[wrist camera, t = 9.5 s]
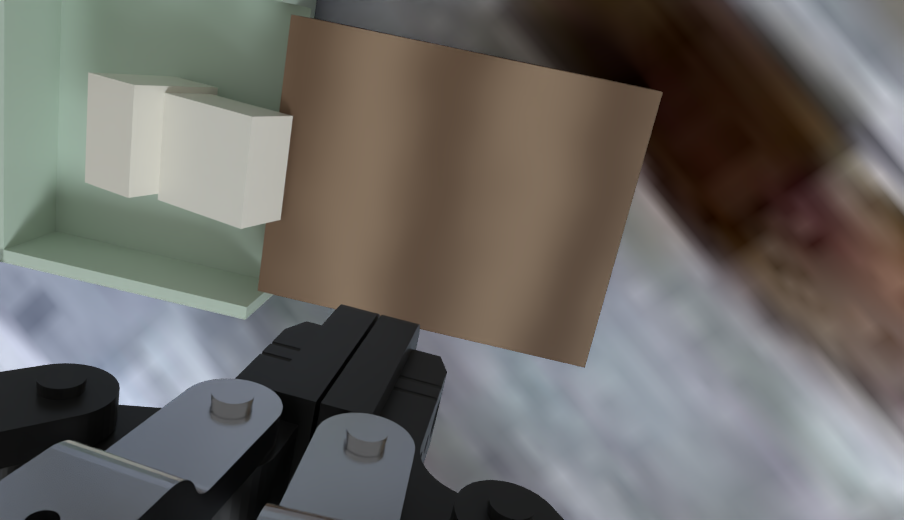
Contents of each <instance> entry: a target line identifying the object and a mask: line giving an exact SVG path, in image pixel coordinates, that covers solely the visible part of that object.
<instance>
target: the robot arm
mask: <svg viewBox="0 0 904 520" xmlns="http://www.w3.org/2000/svg"><path fill="white" fill-rule="evenodd" d="M419 332H420V324H416V323H413V322H409V321H405V320H401V319H397V318H393V317H390V316H386V315H381V316H380V314H378V313H374V312H370V311H366V310H362V309H358V308H355V307H351V306H347V305H343V304H341V305H340V306H339V307H338V308H337V309H336V310H335V311H334V312H333V313H332V315H331V316H330V317H329V318H328V319H327V320H326V321H325V322H324V324H323V325H318V324H314V323H310V322H307V321H306V322H304V323H301V324H298V325H295V326H292V327H290V328H287V329H285V330H284V331H283V332H282V333H281V334H280V335H279V336H278V337H277V338H276V339H275V340H274V341H273V342H272V344H270V345H268V346H267V347H266V348H265V349H264V350H263V352H262V354H259V355H258V356H257V357H256V358H255V359H254V360H253V361H252V362H251V363H250V364H249V365H248V366H247V367H246V368H245V369H244V370H243V371H242V372H241V373H240V374H239V375H238V376H237V377H236V378H235V379H213V380H208V381H204V382H201V383H198V384H196V385H193V386H192V387H190V388H188V389H187V390H186V391H184V392H183V393H182V394H180V395H179V396H178V397H176V398H175V399H174V400H172V401H171V402H170V403H168V404H167V405H166V406H164V407H163V408H153V407H140V406H127V405H118V402H119V389H120V388H119V383H118V381H117V379H116V378H115V377H114V376H113V375H111V374H110V373H108V372H106V371H104V370H102V369H99V368H96V367H93V366H88V365H82V364H67V363H64V364H50V365H42V366H36V367H29V368H23V369H16V370H10V371H3V372H0V520H564V519H563V518H562V517H561V516H560V515H559V514H558V513H557V512H556V511H555V510H554V508H553V507H552V506H551V505H550V504H549V503H548V502H547V501H545V500H544V499H543V498H541V497H540V496H539V495H537V494H536V493H534V492H532V491H530V490H528V489H526V488H524V487H522V486H519V485H516V484H513V483H509V482H504V481H497V480H485V481H478V482H474V483H471V484H469V485H467V486H465V487H464V488H462V489H461V490H460V492H459V493H457V492H455V491H453V490H451V489H449V488H448V487H446V486H444V485H443V484H441V483H440V482H439V481H437V480H436V479H435V478H434V477H433V476H432V475H431V474H430V473H429V472H428V471H427V469H426V468H425V466H424V464H423V463H424V460H425V457H426V454H427V451H428V448H429V445H430V442H431V437H432V433H433V429H434V425H435V420H436V416H437V412H438V408H439V404H440V399H441V395H442V391H443V387H444V383H445V378H446V374H447V371H446V369H445V366H444V364H443V362H442V360H441V357H440V356H436V355H432V354H428V353H425V352H421V351H417V350H416V346H417V342H418V337H419Z"/></svg>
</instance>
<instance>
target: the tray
mask: <svg viewBox="0 0 904 520" xmlns="http://www.w3.org/2000/svg"><path fill="white" fill-rule="evenodd" d="M316 2H317V0H0V262H5V263H9V264H13V265H17V266H21V267H26V268H30V269H34V270H38V271H42V272H47V273H51V274H55V275H59V276H63V277H68V278H72V279H76V280H80V281H85V282H89V283H93V284H97V285H101V286H106V287H110V288H114V289H118V290H122V291H127V292H131V293H135V294H139V295H143V296H148V297H152V298H156V299H160V300H165V301H169V302H173V303H177V304H181V305H186V306H190V307H194V308H198V309H202V310H207V311H211V312H215V313H219V314H224V315H228V316H232V317H236V318H240V319H245V320H246V319H247V318H248V317H249V316H250V315H251V314H252V313H253V312H255V311H256V310H257V309H258V308H259V307H260V306H261V305H262V304H264V303H265V302H266V301H267V300H268V299H269V298H270V297H271V296H273V294H269V293H265V292H261V291H258V283H259V275H260V266H261V258H262V250H263V242H264V234H265V225H266V223H264V224H260V225H256V226H251V227H247V228H242V229H240V228H237V227H234V226H231V225H228V224H225V223H223V222H220V221H217V220H214V219H211V218H208V217H205V216H203V215H200V214H197V213H194V212H191V211H188V210H185V209H183V208H180V207H177V206H174V205H171V204H168V203H165V202H163V201H160V200H158V194H152V195H145V196H138V197H131V198H127V197H124V196H122V195H119V194H116V193H113V192H110V191H108V190H105V189H102V188H99V187H96V186H93V185H91V184H88V183H85V160H86V129H87V97H88V72H91V73H112V74H134V75H155V76H176V77H179V78H183V79H187V80H191V81H195V82H199V83H202V84H206V85H210V86H214V87H218V94H217V96H220V97H224V98H228V99H232V100H235V101H239V102H243V103H246V104H250V105H254V106H258V107H261V108H265V109H269V110H273V111H276V112H279V110H280V102H281V93H282V85H283V77H284V69H285V61H286V52H287V44H288V36H289V28H290V19H291V14H292V15H297V16H303V17H309V18H314V17H315V10H316Z"/></svg>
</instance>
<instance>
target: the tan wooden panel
mask: <svg viewBox="0 0 904 520" xmlns="http://www.w3.org/2000/svg"><path fill="white" fill-rule="evenodd" d="M662 93H663V92H660V91H657V90H653V89H649V88H645V87H640V86H635V85H630V84H626V83H621V82H616V81H611V80H606V79H602V78H597V77H592V76H587V75H583V74H578V73H573V72H568V71H563V70H559V69H554V68H549V67H544V66H540V65H535V64H530V63H525V62H520V61H516V60H511V59H506V58H501V57H496V56H492V55H487V54H482V53H477V52H473V51H468V50H463V49H458V48H453V47H449V46H444V45H439V44H434V43H430V42H425V41H420V40H415V39H410V38H406V37H401V36H396V35H391V34H387V33H382V32H377V31H372V30H367V29H363V28H358V27H353V26H348V25H343V24H339V23H334V22H329V21H324V20H320V19H315V18H309V17H303V16H297V15H292V14H291V19H290V28H289V36H288V44H287V52H286V61H285V69H284V77H283V85H282V93H281V102H280V110H279V112H280V113H284V114H288V115H291V116H293V120H292V128H291V136H290V145H289V153H288V161H287V170H286V178H285V186H284V195H283V203H282V211H281V220H277V221H273V222H269V223H266V225H265V234H264V242H263V250H262V258H261V266H260V275H259V283H258V291H261V292H265V293H269V294H273V295H278V296H282V297H286V298H290V299H295V300H299V301H303V302H308V303H312V304H316V305H320V306H325V307H329V308H333V309H337V308H338V307H339V306H340V305H341V304H343V305H347V306H351V307H355V308H358V309H362V310H366V311H370V312H374V313H378V314H380V316H381V315H386V316H390V317H393V318H397V319H401V320H405V321H409V322H413V323H416V324H420V329H423V330H427V331H431V332H435V333H440V334H444V335H448V336H452V337H457V338H461V339H465V340H469V341H474V342H478V343H482V344H487V345H491V346H495V347H499V348H504V349H508V350H512V351H516V352H521V353H525V354H529V355H533V356H538V357H542V358H546V359H550V360H555V361H559V362H563V363H568V364H572V365H576V366H580V367H585V365H586V361H587V358H588V354H589V351H590V347H591V344H592V340H593V337H594V333H595V330H596V326H597V323H598V319H599V315H600V312H601V308H602V305H603V301H604V298H605V294H606V291H607V287H608V284H609V280H610V277H611V273H612V269H613V266H614V262H615V259H616V255H617V252H618V248H619V245H620V241H621V238H622V234H623V231H624V227H625V224H626V220H627V216H628V213H629V209H630V206H631V202H632V199H633V195H634V192H635V188H636V185H637V181H638V178H639V174H640V171H641V167H642V163H643V160H644V156H645V153H646V149H647V146H648V142H649V139H650V135H651V132H652V128H653V125H654V121H655V117H656V114H657V110H658V107H659V103H660V100H661V96H662Z"/></svg>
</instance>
